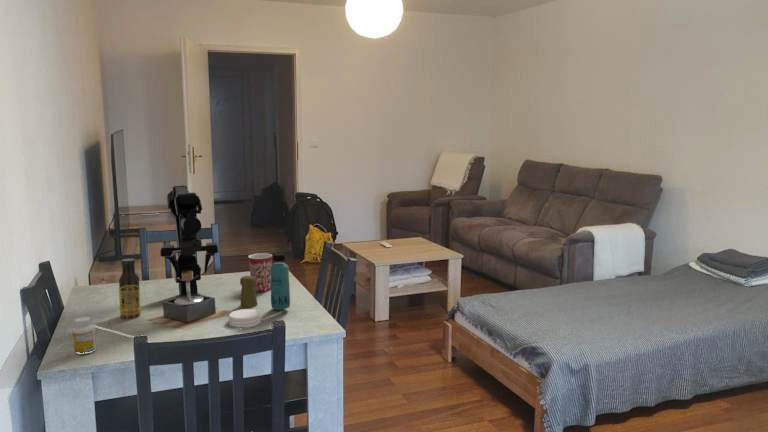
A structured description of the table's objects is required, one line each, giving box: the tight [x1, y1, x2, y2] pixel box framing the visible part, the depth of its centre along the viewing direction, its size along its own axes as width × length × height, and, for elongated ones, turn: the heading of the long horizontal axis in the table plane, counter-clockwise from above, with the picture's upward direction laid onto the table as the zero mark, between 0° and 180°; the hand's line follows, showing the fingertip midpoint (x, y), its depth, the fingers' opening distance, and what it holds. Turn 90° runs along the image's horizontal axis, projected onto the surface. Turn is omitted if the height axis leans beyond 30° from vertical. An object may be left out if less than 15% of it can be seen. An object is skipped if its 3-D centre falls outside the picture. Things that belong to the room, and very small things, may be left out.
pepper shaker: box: [239, 275, 258, 309], centre depth 201 cm, size 6×6×11 cm
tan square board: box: [144, 307, 233, 331], centre depth 191 cm, size 20×20×1 cm
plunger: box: [174, 271, 204, 306], centre depth 190 cm, size 9×9×10 cm
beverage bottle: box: [269, 252, 291, 310], centre depth 195 cm, size 6×7×20 cm
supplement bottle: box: [72, 316, 97, 353], centre depth 162 cm, size 5×5×10 cm
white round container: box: [228, 308, 262, 329], centre depth 185 cm, size 10×10×4 cm
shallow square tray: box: [162, 293, 217, 324], centre depth 191 cm, size 14×12×6 cm
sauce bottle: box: [118, 258, 141, 320], centre depth 190 cm, size 6×6×20 cm
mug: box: [247, 252, 273, 293], centre depth 223 cm, size 13×9×14 cm
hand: (191, 273), depth 200 cm, fingers open, 9 cm apart
